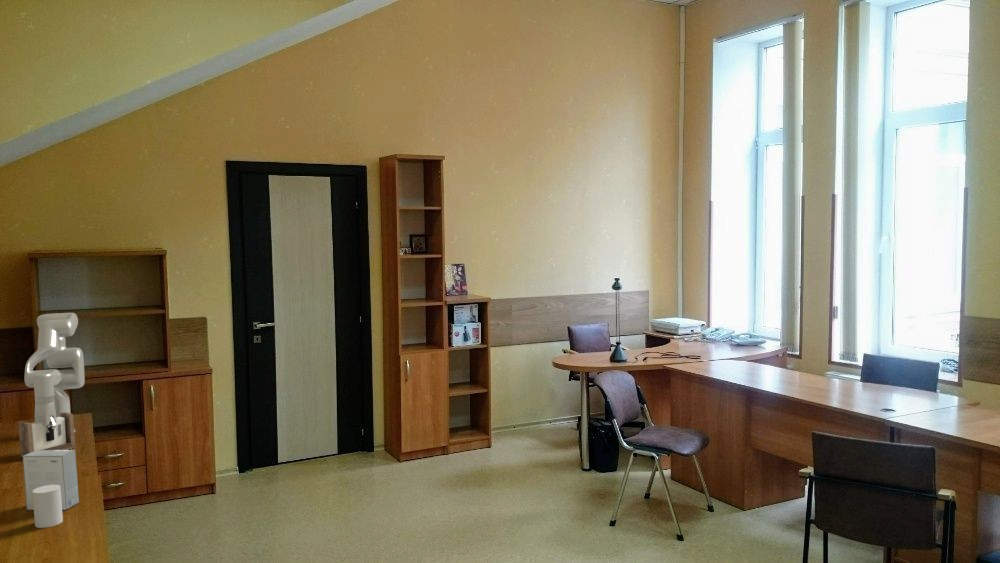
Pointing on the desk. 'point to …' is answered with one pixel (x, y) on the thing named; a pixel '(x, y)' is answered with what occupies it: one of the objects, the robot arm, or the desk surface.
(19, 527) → the desk surface
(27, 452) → the door frame
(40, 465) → the hard drive box
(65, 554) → the desk surface
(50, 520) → the white cylinder
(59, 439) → the door panel
